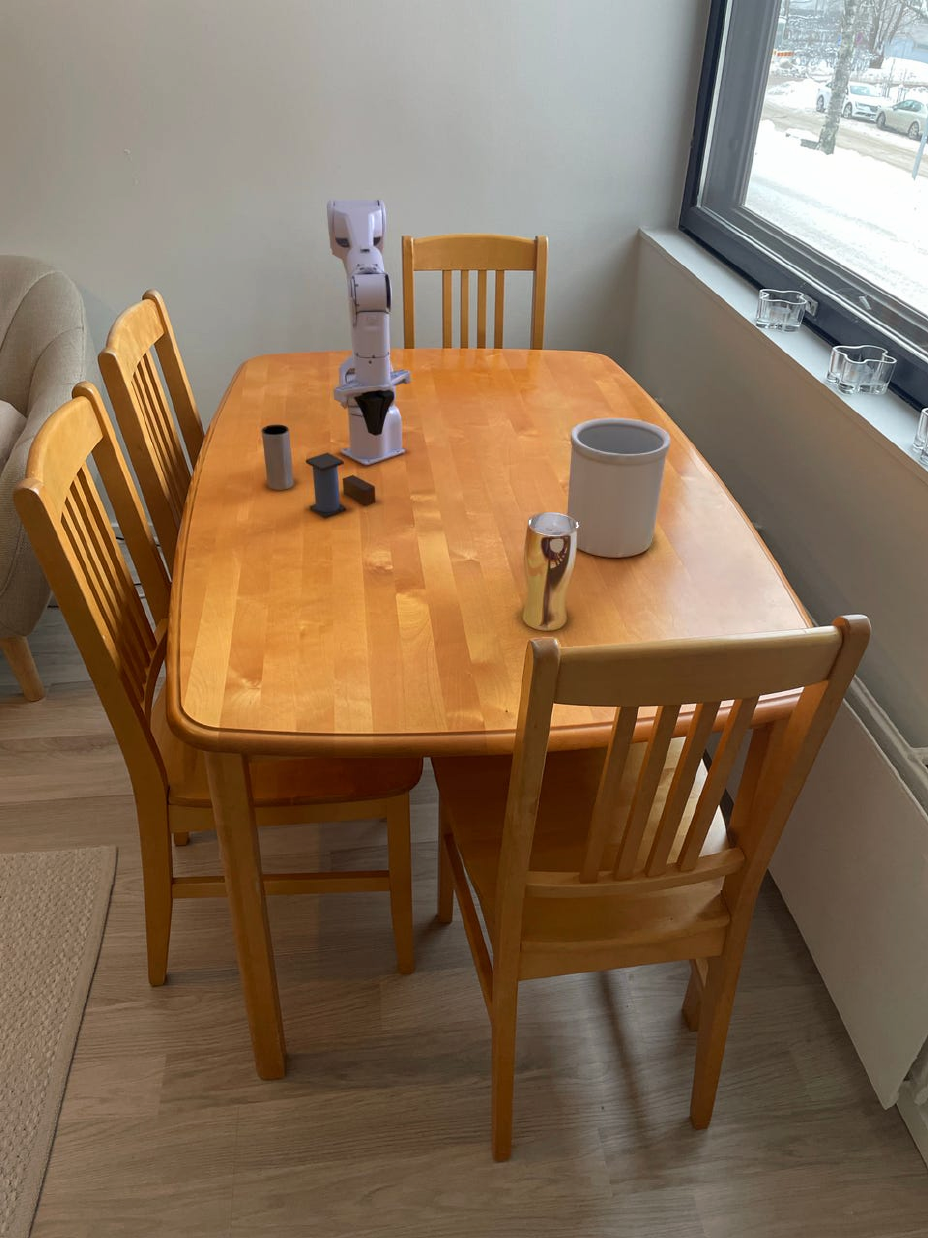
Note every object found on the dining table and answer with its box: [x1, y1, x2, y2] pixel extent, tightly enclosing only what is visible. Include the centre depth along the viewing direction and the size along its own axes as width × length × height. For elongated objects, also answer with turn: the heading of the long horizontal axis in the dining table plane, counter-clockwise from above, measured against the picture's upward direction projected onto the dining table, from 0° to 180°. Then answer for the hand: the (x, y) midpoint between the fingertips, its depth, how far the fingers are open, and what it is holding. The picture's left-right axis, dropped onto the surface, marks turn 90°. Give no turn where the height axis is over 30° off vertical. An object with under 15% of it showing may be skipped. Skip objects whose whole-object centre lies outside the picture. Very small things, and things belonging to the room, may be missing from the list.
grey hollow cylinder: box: [261, 424, 295, 491], centre depth 157 cm, size 4×4×10 cm
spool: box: [305, 452, 347, 519], centre depth 150 cm, size 10×4×9 cm
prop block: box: [342, 474, 376, 507], centre depth 155 cm, size 2×6×3 cm, turn 44°
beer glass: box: [522, 511, 578, 632], centre depth 123 cm, size 7×7×15 cm
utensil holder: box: [566, 417, 671, 559], centre depth 142 cm, size 15×15×18 cm
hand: (374, 433), depth 153 cm, fingers closed
